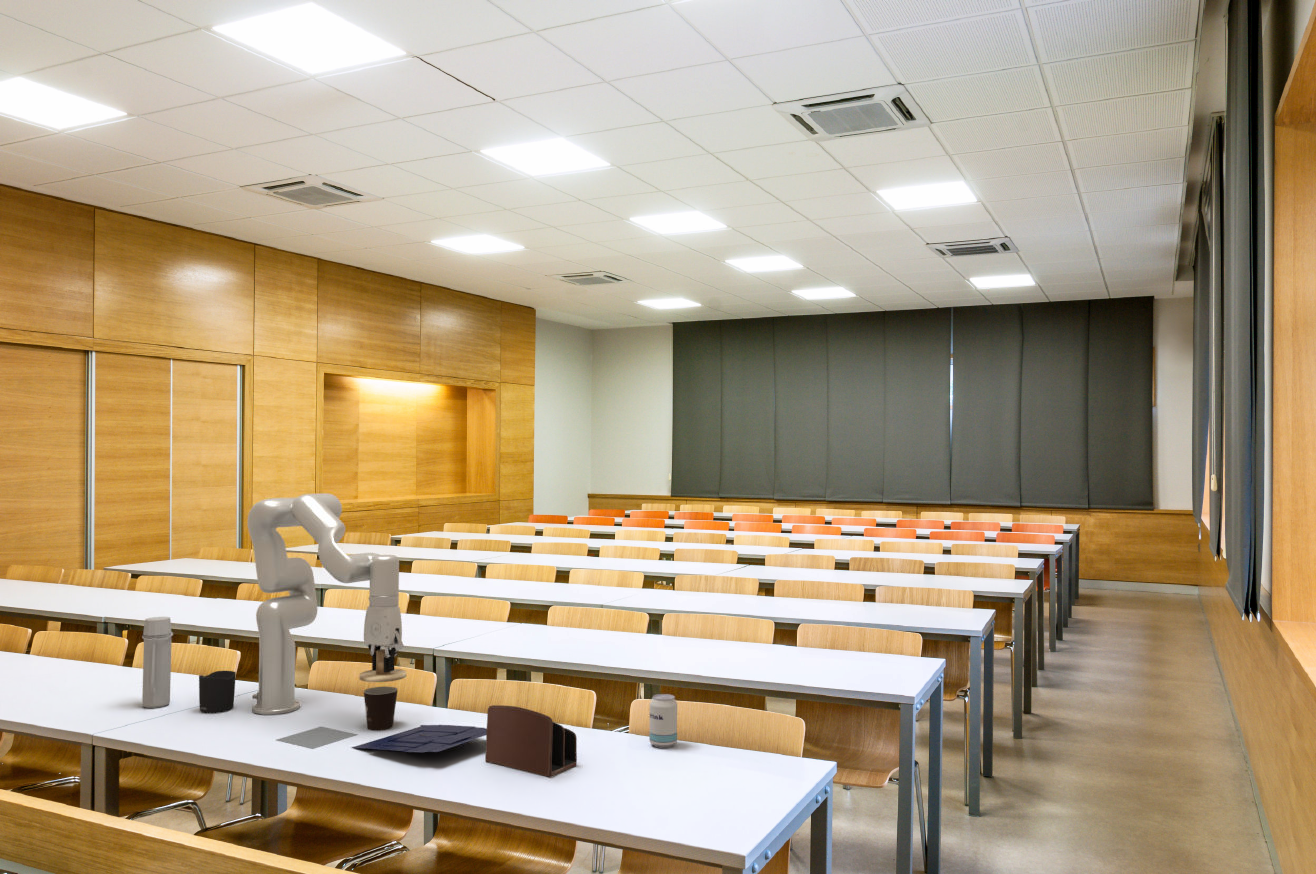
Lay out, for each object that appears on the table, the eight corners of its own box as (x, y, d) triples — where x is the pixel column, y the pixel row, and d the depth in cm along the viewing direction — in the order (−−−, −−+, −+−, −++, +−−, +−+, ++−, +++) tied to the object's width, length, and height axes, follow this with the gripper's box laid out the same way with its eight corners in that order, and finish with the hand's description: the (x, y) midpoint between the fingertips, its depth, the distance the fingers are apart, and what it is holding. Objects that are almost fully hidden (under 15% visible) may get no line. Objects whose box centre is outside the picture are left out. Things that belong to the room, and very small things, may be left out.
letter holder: (549, 778, 202) (550, 714, 202) (484, 762, 213) (485, 702, 213) (577, 766, 210) (578, 705, 211) (513, 751, 221) (513, 693, 221)
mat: (275, 741, 227) (275, 739, 227) (320, 727, 239) (320, 726, 239) (312, 750, 220) (312, 748, 220) (357, 736, 232) (357, 734, 232)
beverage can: (643, 745, 226) (644, 696, 227) (663, 739, 231) (663, 691, 232) (663, 751, 221) (663, 701, 222) (682, 745, 226) (682, 696, 227)
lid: (349, 679, 239) (349, 652, 239) (383, 670, 249) (384, 644, 250) (382, 684, 233) (382, 656, 233) (415, 675, 243) (416, 649, 244)
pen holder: (198, 707, 259) (199, 672, 259) (234, 704, 263) (235, 669, 263) (197, 715, 251) (198, 679, 251) (234, 712, 255) (235, 676, 255)
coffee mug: (391, 733, 235) (391, 694, 235) (358, 733, 235) (358, 694, 235) (404, 721, 246) (405, 684, 247) (373, 720, 247) (373, 683, 247)
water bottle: (143, 703, 263) (146, 617, 264) (173, 701, 265) (176, 615, 266) (135, 711, 254) (138, 622, 255) (167, 709, 257) (169, 621, 257)
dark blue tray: (431, 766, 206) (430, 750, 206) (347, 759, 222) (346, 743, 222) (505, 740, 226) (504, 725, 226) (423, 735, 242) (422, 721, 242)
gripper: (351, 601, 243) (350, 670, 242) (395, 605, 235) (395, 677, 234) (372, 597, 249) (372, 664, 249) (417, 602, 241) (416, 671, 240)
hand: (383, 670), depth 241 cm, fingers closed on lid, 3 cm apart
